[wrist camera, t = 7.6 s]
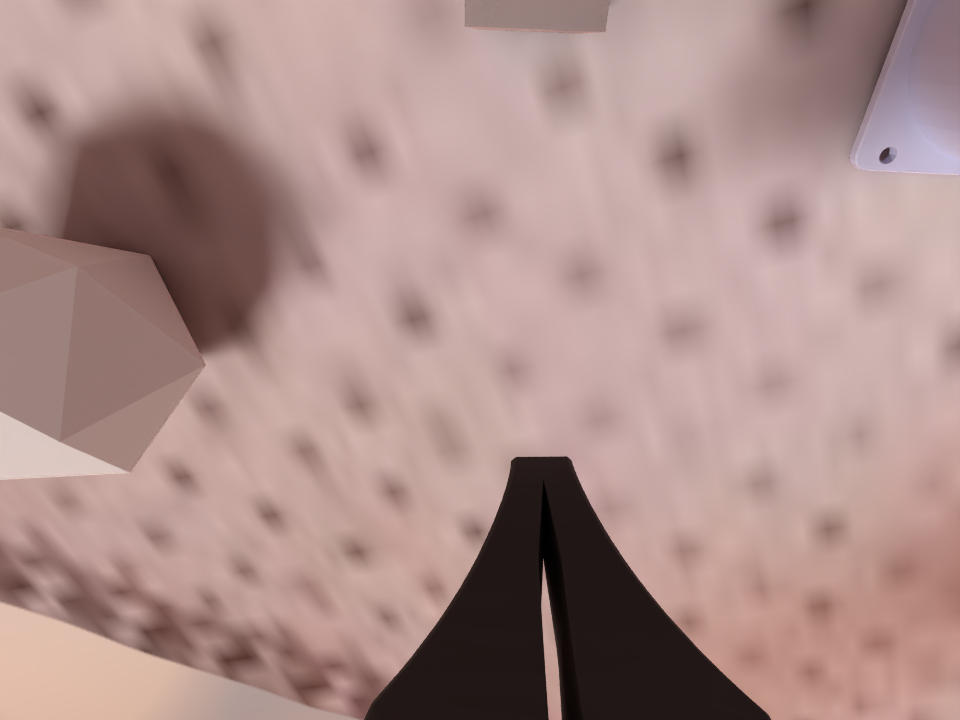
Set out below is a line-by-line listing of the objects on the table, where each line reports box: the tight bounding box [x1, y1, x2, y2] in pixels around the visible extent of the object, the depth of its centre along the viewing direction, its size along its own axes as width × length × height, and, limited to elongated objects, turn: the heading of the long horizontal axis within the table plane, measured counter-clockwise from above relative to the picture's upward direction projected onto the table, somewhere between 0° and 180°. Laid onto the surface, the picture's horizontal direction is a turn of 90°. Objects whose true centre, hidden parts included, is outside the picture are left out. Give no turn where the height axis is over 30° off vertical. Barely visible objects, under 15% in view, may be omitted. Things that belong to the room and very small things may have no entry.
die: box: [0, 227, 206, 480], centre depth 19 cm, size 8×9×10 cm
